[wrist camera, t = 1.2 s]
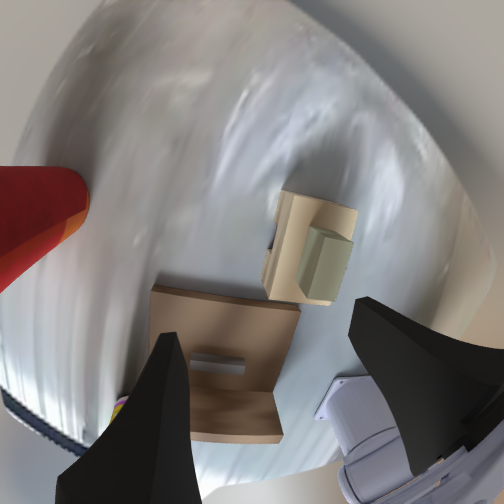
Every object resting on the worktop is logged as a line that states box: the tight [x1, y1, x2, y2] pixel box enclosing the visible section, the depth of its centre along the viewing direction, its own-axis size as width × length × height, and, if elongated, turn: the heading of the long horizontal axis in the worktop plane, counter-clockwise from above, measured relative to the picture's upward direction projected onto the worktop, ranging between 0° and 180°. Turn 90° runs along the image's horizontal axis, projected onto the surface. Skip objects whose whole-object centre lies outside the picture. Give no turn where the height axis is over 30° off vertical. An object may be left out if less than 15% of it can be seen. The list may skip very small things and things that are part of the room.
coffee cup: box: [0, 166, 89, 293], centre depth 12 cm, size 8×8×15 cm
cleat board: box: [149, 285, 301, 444], centre depth 22 cm, size 13×12×7 cm
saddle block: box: [261, 190, 359, 306], centre depth 19 cm, size 5×8×7 cm, turn 167°
